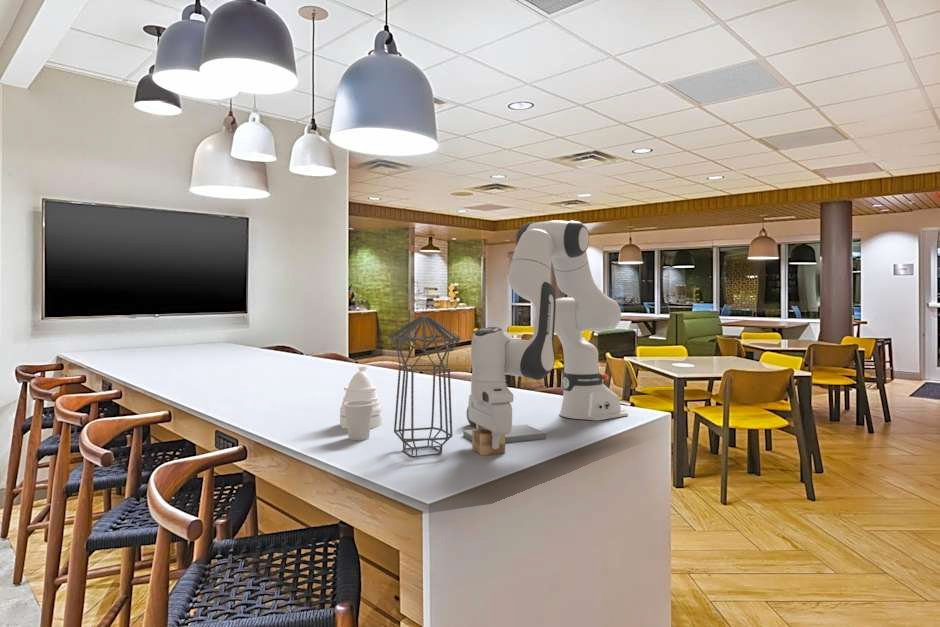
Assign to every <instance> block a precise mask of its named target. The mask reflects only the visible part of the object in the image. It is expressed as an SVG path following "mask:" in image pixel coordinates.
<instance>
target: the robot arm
mask: <svg viewBox="0 0 940 627" xmlns="http://www.w3.org/2000/svg"><path fill="white" fill-rule="evenodd" d="M589 244H590V234H589V230H588V228H587V226H586V225H585V224H584V223H583V222H580V221H577V220H570V221H567V220H556V219H555V220H546V221H538V222H533V221H531V222H528V223H527V222H526V223H524V224H522V225H521V226H520V227H519V229H518V230H517V232H516V234H515V246H516V247H515V249H514V252H513V255H512V257H511V258H512V259H511V261H510V266H509V269H508V275H507V277H508V278H507V279H508V284H509V286H510V288H511V290H512V291H513V292H514V293H515V294H516V295H518V296H519V297H521V298H522V299H524V300H526V301H528V302H530V303H532V304H533V306H534V322H533V323H534V324H533V335H532V337H531V338H530V339H516V338H512V337H509V336H507V335H506V334H505V333H504V331H503V329H502V328H501V327H497V326H487V327H482V328H479V329H477V330H476V331H474V332H473V335H472V339H471V346H470V364H471V365H470V366H471V368H472V371H471V372H472V373H471V377H470V395H469V396H468V405H467V408H468V417H469V420H471V421H472V422H474V423H476V429H477V430H478V429H485V428H486V429H488V430H490V431H492V441H490V444H491V445H490V447H491V448H493V449H498V448H499V441H500V438H501V435H504V434H509V433H510V431H511V429H512V426H513V406H512V403H513V402H514V393H513V392H512V391H511V390H510V389H509V387H508V385H507V384H506V375H509V376H512V377H513V376H514V377H523V378H524V377H525V378H526V379H532V380H537V381H541V380H543V379H544V378H545V377H547V376H548V375H549V374H550V373H551V372H552V371H553V369H554V367H555V362H556V361H555V360H556V356H555V347H554V346H555V344H554V342H555V334H556V336H557V337H558V339H559V341H560V343H561V346H562V347H561V348H562V349H563V350H562V352H563V363H564V364H563V365H564V371H563V373H562V387H563V393H562V394H563V396H562V402H561V407H560V410H559V416H560V417H564V418H568V419H573V420H574V419H575V420H588V421H602V420H607V419H608V420H609V419H615V418H620V417H627V416H629V414H628V411H627V410H626V409H625V410H624V409H622V408H621V407H622V406H621V400H620V397H619V396H618V394H617V393H615V392H614V391H612V390H611V389H610V388H609V387H607V385H605V384H604V382H603V381H609V379H610V375H608V374H606V373H603V374H601V373H600V372H599V350H598V349H597V347H596V346H595V345H594V344H592V343H591V342H590V341H587V340H586V339H585V338H584V337H583V334H582V333H583V332H585V331H587V332H605V331H609V330H613V329H616V327H617V326H619V323H620V321H621V317H622V311H621V310H622V309H621V307H620V304H618V303H617V301H616V300H615V299H613V298H612V297H609V296H608V295H606V294H605V293H604V292H603V291H602V290H601V289H600V288H599V287H598V285H597V284H596V282H595V280H594V278H593V275H592V272H591V267H590V262H589V258H588V254H587V250H588V247H589ZM552 267H553V272H554V276H555V280H556V284H557V287H558V290H559V291H560V292H562V293H563V294H565V295H567V296H569V297H558V298H556V297H557V295H556V290H555V287H554V286H553V285H552V284H551V283H550V273H551V268H552ZM582 331H583V332H582Z"/></svg>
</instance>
